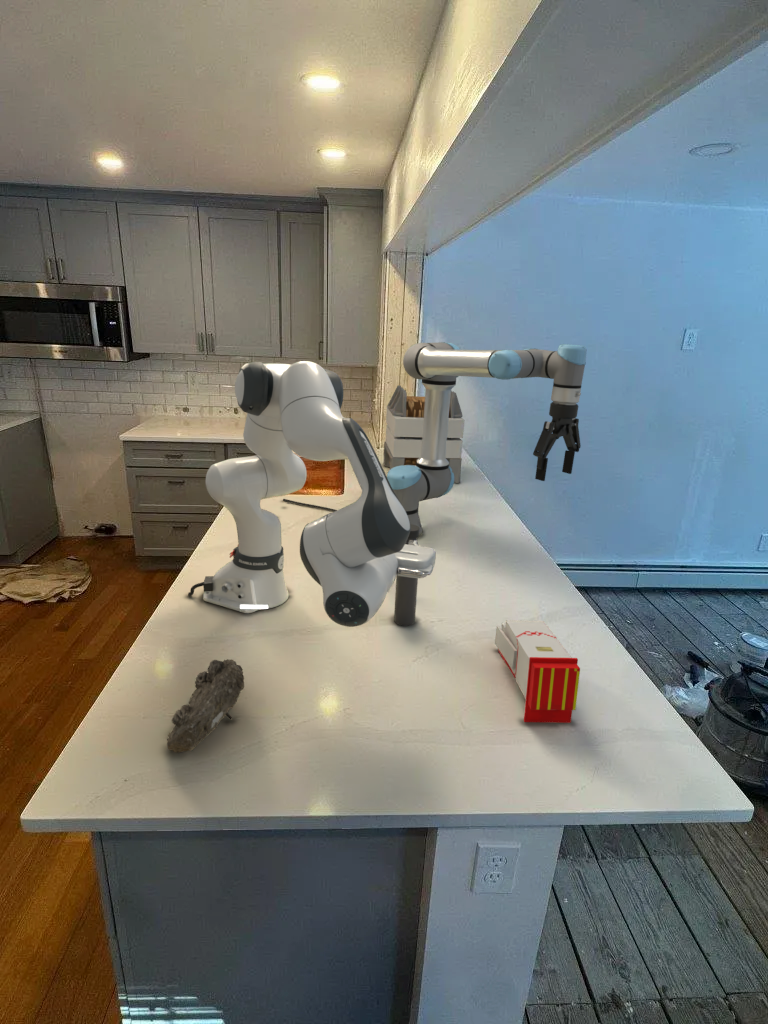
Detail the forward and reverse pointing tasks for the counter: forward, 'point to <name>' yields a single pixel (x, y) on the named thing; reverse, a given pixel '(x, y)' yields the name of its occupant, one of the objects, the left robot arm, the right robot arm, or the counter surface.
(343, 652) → the counter surface
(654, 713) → the counter surface
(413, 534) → the cap
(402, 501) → the right robot arm
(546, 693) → the toy
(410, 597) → the bottle
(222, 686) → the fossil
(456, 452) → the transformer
